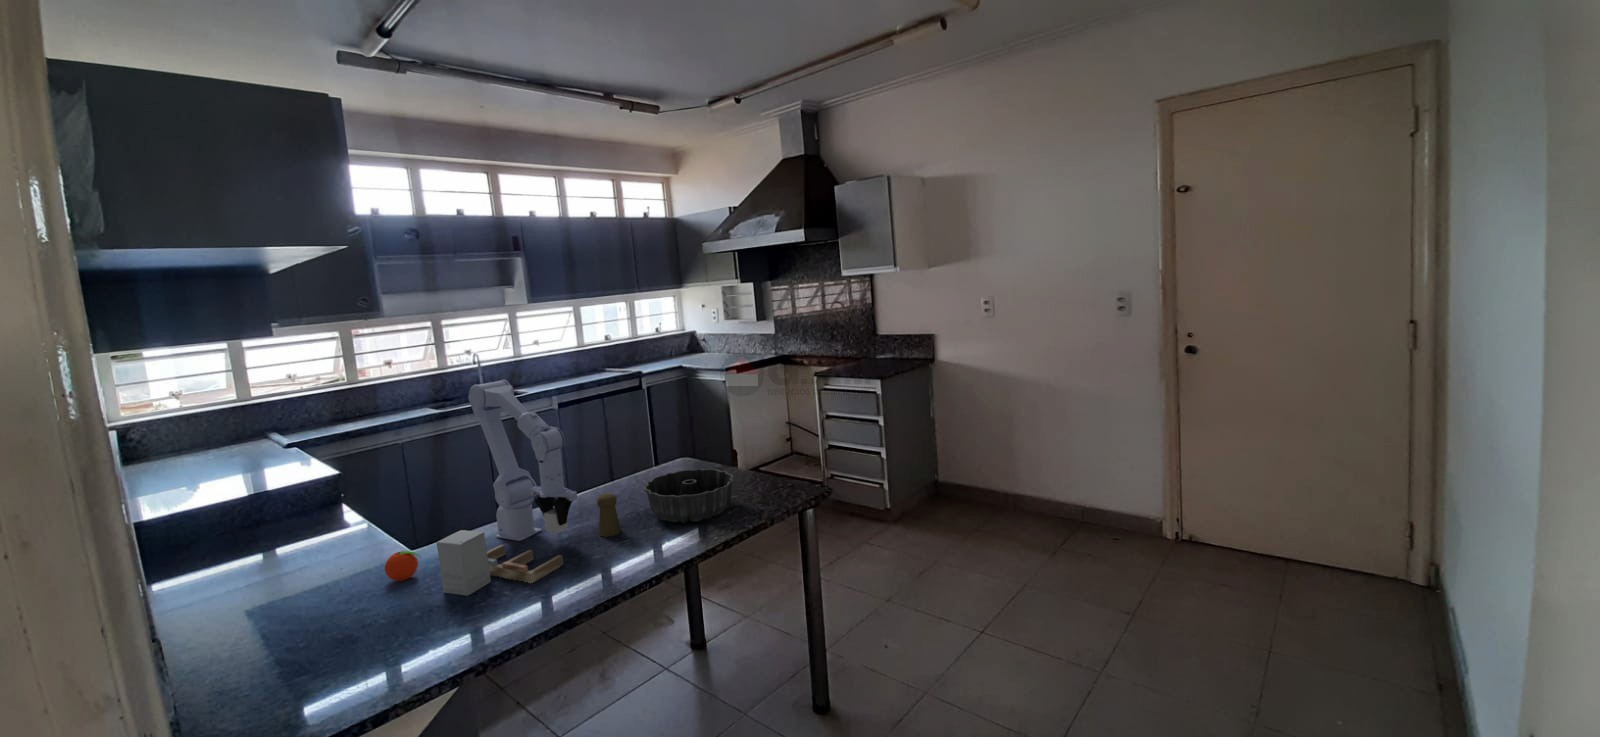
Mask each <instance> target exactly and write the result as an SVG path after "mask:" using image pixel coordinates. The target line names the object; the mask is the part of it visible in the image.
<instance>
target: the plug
mask: <svg viewBox="0 0 1600 737" xmlns="http://www.w3.org/2000/svg"><path fill="white" fill-rule="evenodd" d="M543 518H544V528H545V532H549V533H555V534H558V533H560V532H562V531H564V530H566V529H567V528H569V524H568V520H567V523H565V524H563V525H559V523H558V518H557V513H556V510H555V507H554V508H553V509H551V510H549V511H548V512H546V513H544V516H543Z"/></svg>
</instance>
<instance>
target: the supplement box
mask: <svg viewBox="0 0 1600 737" xmlns="http://www.w3.org/2000/svg"><path fill="white" fill-rule="evenodd" d="M486 543H487V542H486V536H485V532H484V531H474V530H473V531H472V530H467V529H466V530H464V529H460V530H459V531H456V532H454V533H452V534H450V535H448V536H446V537H444V538H442V539H440V540H438V541H436V548H437V555H438V561H439V569H440V575H441V576H440V577H441V584H442V590H443V593H444V594H453V595H458V596H459V595H460V596H465V597H469V595H472V594H473V593H475V592H477V591H478V590H480V589H482V588H483V587H485V586H486V585H488V584H490V583H491V575H490V572H489V564H488V557H487V551H488V550H487V544H486Z"/></svg>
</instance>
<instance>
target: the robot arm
mask: <svg viewBox="0 0 1600 737" xmlns="http://www.w3.org/2000/svg"><path fill="white" fill-rule="evenodd" d="M514 391H515V390H514V387H513V385H511V384H510V382H509V381H508V380H506V379H500V380H496V381H491V382H484V383H482V384H473V385H472V386H471V387H470V389H469V392H468V397H467V398H468V401H469V404H470V406H471V409H472V412H473V415H474V417H477V418H478V420H479V423H480V426H481V428H482V431H483V434H484V436H485V439H486V442H487V444H488V447H489V450H490V452H491V456H492V458H493V460H494V463H495V467H496V469H497V471H498V474H499V475H498V476H497V478H496V479H495V481H494V482H493V483H492V484H493V485H492V486H493V489H494V490H493V491H494V499H495V501H496V503H497V505H499V506H498V508H497V510H496V512H495V513H496V515H495V516H496V524H497V533H498V534H496V536H495V537H496V538H501V539H506V540H511V541H519V542H522V541H524V540H526V539H528V538H530V537H531V536H533V535H535V534H538V533H540V532H541V531H542V530H543V529H542V528H539V527H535V521H534V512H533V511H534V510H533V502H534V503H535V504H536V505H537V507H538V508H539V510H540V512H541V513H542V517H544V513H546V512H548V511H549V510H551V509H553V508H555V510H556V513H557V518H558V523H559V525H563V524H565V523H567V521H568V515H569V511H570V508H571V505H572V503H573V501H576V500H577V499H578V492H577V491H574V490H571V489H569V488H566V487H565V482H564V472H563V461H562V450H561V449H562V448H563V447H564V446H565V440H566V439H565V435H564V433H563V431H562V430H561V428H560V427H556V426H555V427H554V426H552V425H550V426H549V425H548V424H547V423H546V421H544V420H543V419H542V418H541V417H540V416H539V415H538V414H537V412H534V411H528V410H527V409H526V407H524V405H523V404H522V403H521V402H520V400H519V399H518V398H517V397H516V395H515V393H514ZM504 411H506V413H508V414H509V415H511V417H513V418H514V419H515V420H516V421H517V423H516V424H517V428H518V429H519V430H520V431H521V432H522V433H523V434H524V435H525V436H526V437H527V438H528V439H529V440H530V444H531V447H532V450H533V451H534V453H535V458H536V460H537V461H538V471H539V480H540V486H539V485H538V486H537V483H536V481H535V480H534V479H533V478H532V476H531V473H530V472H529V470H526V469H523V468H521V467H519V463H518V462H517V458H516V456H515V454H514V453H515V452H514V450H513V447H512V445H511V443H510V440H509V437H508V435H507V432H506V430H505V427H504V424H503V422H502V419H501V413H502V412H504ZM536 496H538V497H537V498H535V497H536ZM534 498H535V499H534ZM555 499H556V500H555Z"/></svg>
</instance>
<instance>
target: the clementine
mask: <svg viewBox="0 0 1600 737" xmlns="http://www.w3.org/2000/svg"><path fill="white" fill-rule="evenodd" d="M415 555H416V556H417V557H419V558H420V559H422V557H421V556H420V555H419V554H418V553H416V552H415V551H410V550H409V551H408V550H406V551H405V550H403V551H402V550H401V551H398V552H395V553H394V554H391V556H389V557H388V559H387V560H386V561H385V564H384V572H385V575H386V576H387V577H388V579H390V580H392V581H395V582H402V581H406V580H408V579H410V578H412V576H414V574H415V573H416V572H417V569H418V566H419V561H418V559H417V557H416V556H415Z"/></svg>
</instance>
